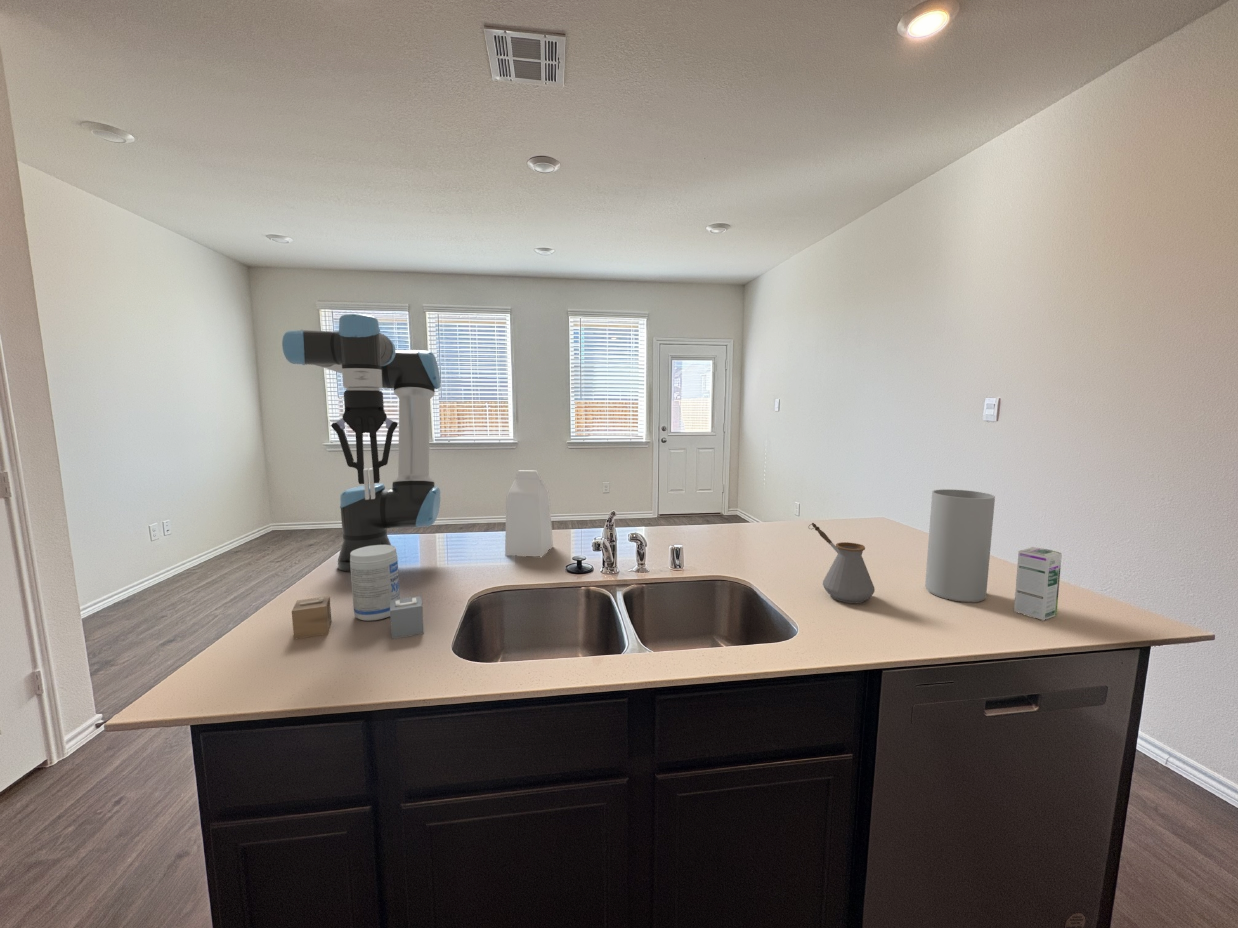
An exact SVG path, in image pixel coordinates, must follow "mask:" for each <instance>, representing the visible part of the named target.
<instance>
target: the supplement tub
mask: <svg viewBox="0 0 1238 928" xmlns="http://www.w3.org/2000/svg"><path fill="white" fill-rule="evenodd" d="M398 561H399V560H398V552H397V547H396V546H395V545H392V544H391V545H373V546H366V547H362V548H358V549H356V550H353V551H352V552H351V553H350V568H351V572H350V578H351V580H350V581H351V591H352V604H353V606H352V607H353V615H354V617H355V618H357V619H358V620H361V621H378V620H383V619H385V618H390V600H395V599H401V595H400V593H401V592H400V580H399V579H400V577H399V562H398Z"/></svg>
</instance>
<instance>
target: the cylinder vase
mask: <svg viewBox="0 0 1238 928" xmlns="http://www.w3.org/2000/svg"><path fill="white" fill-rule="evenodd" d="M995 501H996V495H994V494H992V493H991V494H990V493H986V492H982V491H974V490H964V489H943V488H942V489H934V490H932V491H931V502H930V503H931V504H930V515H929V531H928V541H927V542H928V543H927V544H928V545H927V557H926V568H925V569H926V572H925V584H924V587H925V589H926V590H927V591H928V592H929V593H930V594H932V595H934V596H937V597H939V598H942V599H945V600H948V599H949V601H954V602H959V601H961V602H960V603H978V602H982V601H983V600H985V599H986V598H987V589H988V581H989V579H988V578H989V570H990V569H989V567H990V559H991V558H990V557H991V546H992V535H993V524H994V523H993V522H994V513H995V512H994V511H995Z"/></svg>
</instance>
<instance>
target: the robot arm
mask: <svg viewBox="0 0 1238 928" xmlns="http://www.w3.org/2000/svg"><path fill="white" fill-rule="evenodd" d="M379 326H380V325H379V320H378V319H377V317H375V316H372V315H368V314H360V313H355V314H354V313H346V314H343V315H341V316H340V317H339V319H338V330H337V331H336V330H335V331H334V330H333V331H332V330H308V329H307V330H306V329H305V330H304V329H299V330H296V329H295V330H287V331H286V332H284V334H283V336H282V340H281V341H282V342H281V344H282V345H281V346H282V352H283V355H284V358H285V359H286V360H287V362H289V363H290V364H292V365H302V366H307V365H312V366H316V367H320V368H323V369H327V370H329V371H332V372H336V373H339V374H342V375H341V376H342V377H341V378H342V387H343V388H344V389H346V390H344V392H343V402H344V403H343V404H344V405H343V406H344V412H343V414H342V417H341V418H340V419H338V420H337V421H336V422H332V423H331V425H330V426H331V428H332V429H333V431H334V432H335V433H336V435H337V437H338V440H339V443H340V447H341V449H342V453H343V456H344V458H345V462H346V465H347V467H349V468H353V469H356V471H357V480H358V481H357V482H358V484H359V486H355V487H351V488H347V489H345V490H344V491H342V492H341V494H340V499H339V500H340V506H339V509H340V518H341V529H342V544H341V546H340V549H339V550H340V551H339V554H338V558H337V568H338V569H339V570H340V571H343V572H349V573H351V568H350V553H351V552H352V551H353V550H356V549H358V548H362V547H366V546H373V545H392V544H391V541H390V539H389V536H388V529H402V528H403V529H404V528H405V529H406V528H417V529H418V528H421V527H422V528H424V527H430V526H432V525H434V524H435V522H436V521H437V519H438V516H439V511H440V506H441V505H440V504H441V489H440V488H439V487H437V486H435V480H433V479H432V477H430V401H431V399H432V398H433V397H435V394H436V392H435V390H438V389H440V388H441V377H440V370H439V365H438V362H437V358H436V356H435V354H434V353H433V352H432V351H431V350H419V349H417V350H416V349H413V350H412V349H410V350H409V349H406V350H404V349H396V346H395V344H394V342H393V341H392V340H391V339H390V338H389V337H388V336H387V335H385V334H384V333H382V332H381V329H380V327H379ZM380 389H393V394H394V395H395V396H396V397H398V422H397V421H394V420H392V419H390V418H389V417H388V415H387V413H386V412H385V407H384V403H385V402H384V392H382V390H380ZM384 423H385V428H386V429H387V431H386V436H385V441H384V447H383V453H382V457H381V460H379V449H378V438H377V436H378V435H377V432H378V431H379V430H380V428H382V426H383V425H384ZM346 425H347V426H348V427H349V428H350V429H351V430H352V431H353V432H354V433H355V449H356V461H355V460H354V456H353V454H352V451H351V447H350V444H349V440H348V438H347V435H346V432H345V429H346ZM397 427H398V457H397V459H398V460H397V461H398V462H397V463H398V465H397V467H398V469H397V474H398V475H397V477H396V478H395V479H393V481H392V486H391V487H392V488H386V486H385V484H384V483H380V481H381V476H380V475H381V474H380V468H381V467H384V466H387V465H388V462H389V457H390V450H391V446H392V441H393V436H394V432H395V431H396V429H397ZM365 433H367V434H369V441H370V442H369V443H370V453H371V464H372V467H370V468H368V467H367V468H366V467H365V461H364V459H365V458H364V457H365V453H364V434H365Z"/></svg>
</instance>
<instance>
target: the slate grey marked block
mask: <svg viewBox="0 0 1238 928" xmlns="http://www.w3.org/2000/svg"><path fill="white" fill-rule="evenodd" d="M423 613H424V612H423V603H422V596H421V595H417V596H411V597H410V596H409V597H403V598H400V599H395V600H390V616H389V618H390V630H391V631H390V632H391V633H390V634H391V640H394V639H400V638H406V637H411V636H418V635H423V634H424V632H425V631H424V629H425V628H424V616H423V615H424V614H423Z"/></svg>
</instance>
